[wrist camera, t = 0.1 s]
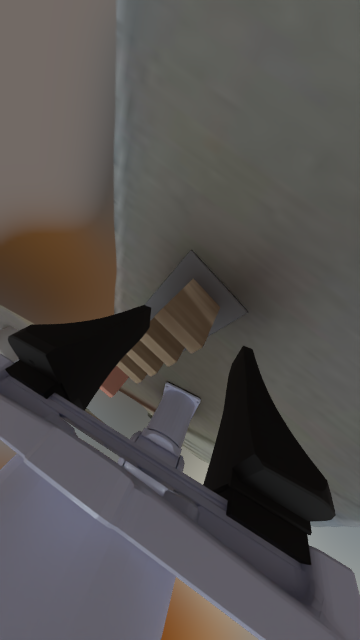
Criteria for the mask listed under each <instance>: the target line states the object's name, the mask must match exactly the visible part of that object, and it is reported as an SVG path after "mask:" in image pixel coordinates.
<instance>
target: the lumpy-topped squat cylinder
mask: <svg viewBox="0 0 360 640" xmlns="http://www.w3.org/2000/svg"><path fill="white" fill-rule="evenodd" d="M18 331H19V330H17V329H15V328H13V327H7V328H4V329H2V330H0V353H1V354H2V355H4V356H5V357H7V358H9V359H10V360H11V361H13V362H14V361H15V360H17V359H19V358H18V357H17V355H16V354H15V352H14V351H13V349H12V348H11V346H10V344H9V342H8V336H10V335H12V334H14V333H16V332H18Z"/></svg>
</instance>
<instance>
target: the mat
mask: <svg viewBox="0 0 360 640" xmlns="http://www.w3.org/2000/svg"><path fill="white" fill-rule="evenodd" d="M192 279H194V280H195V281H196V282H197V283H198V284H199V285H200V286H201V287H202V288H203V289H204V290H205V291H206V292H207V294H208V295H209V296H210V297H211V298H212V299H213V300H214V301H215V302H216V303H217V304H218V305H219V306H220V309H219V311H218V314H217V316H216V318H215V320H214V323H213V325H212V327H211V330H210V332H209V334H208V336H210V335H211V334H213V333H215V332H216V331H218V330H220V329H221V328H223V327H225V326H226V325H228V324H230V323H231V322H233V321H235V320H236V319H238V318H240V317H241V316H243V315H245V314H246V313H248V311H247V310H246V309H245V308H244V307H243V306H242V305H241V303H240V302H239V301H238V300H237V299H236V298H235V297H234V296H233V295H232V294H231V293H230V291H229V290H228V289H227V288H226V287H225V286H224V285H223V284H222V283H221V282H220V280H219V279H218V278H217V277H216V276H215V275H214V274H213V273H212V272H211V271H210V269H209V268H208V267H207V266H206V265H205V264H204V263H203V262H202V261H201V260H200V258H199V257H198V256H197V255H196V254H195V253H194V252H193V251H192V250H190V252H189V253H188V254H187V255H186V256H185V258H184V259H183V260H182V261H181V262H180V263H179V265H178V266H177V267H176V268H175V269H174V271H173V272H172V273H171V274H170V275H169V276H168V278H167V279H166V280H165V281H164V282H163V284H162V285H161V286H160V287H159V288H158V289H157V291H156V292H155V293H154V294H153V295H152V297H151V298H150V299H149V300H148V301H147V302H146V304H145V305H146V306H148V307H151V318H150V321H151V320H152V319H153V318H154V316H155V315H156V314H157V313H158V312H159V311H160V310H161V309H162V308H163V307H164V306H165V305H166V304H167V303H169V302H170V301H171V300H172V299H173V298H174V297H175V296H176V295H177V294H178V293H179V292H180V291H181V290H182V289H183V288H184V287H185V286H186V285H187V284H188V283H189V282H190V281H191V280H192ZM208 336H207V337H208ZM185 350H186V348H184V350H183V351H185Z"/></svg>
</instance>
